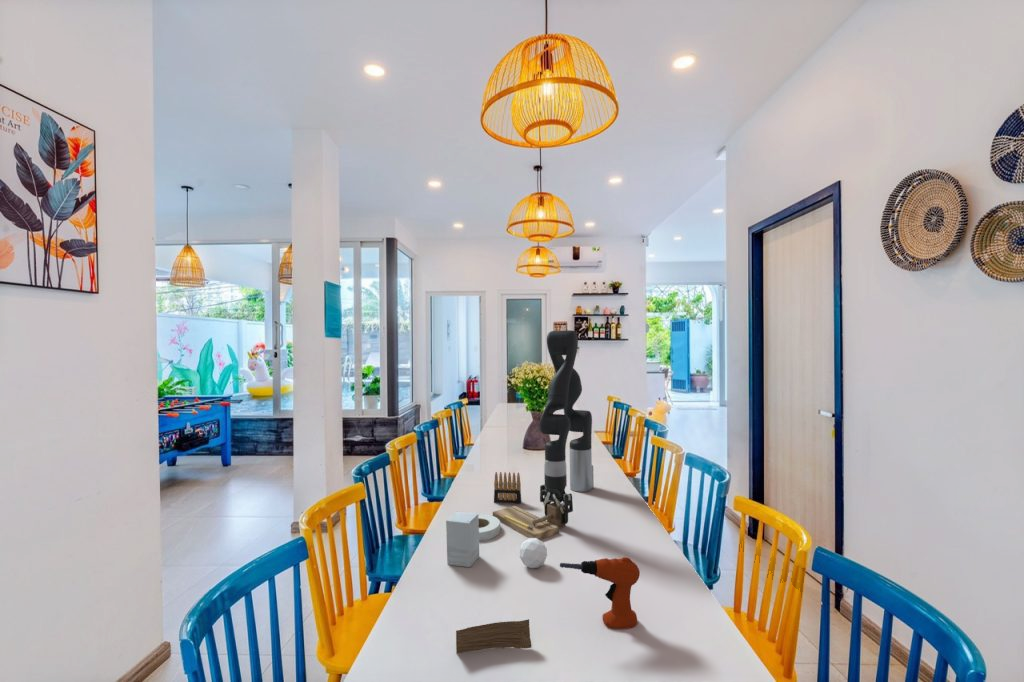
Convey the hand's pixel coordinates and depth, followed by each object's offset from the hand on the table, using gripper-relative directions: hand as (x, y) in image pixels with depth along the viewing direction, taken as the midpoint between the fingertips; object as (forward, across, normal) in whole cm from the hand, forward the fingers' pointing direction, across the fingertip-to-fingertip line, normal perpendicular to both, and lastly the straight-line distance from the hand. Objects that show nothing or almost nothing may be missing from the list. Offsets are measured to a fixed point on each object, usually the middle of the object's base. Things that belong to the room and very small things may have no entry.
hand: (556, 519), depth 155 cm
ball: (+2, -17, +24) cm, 29 cm away
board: (+2, +7, +8) cm, 11 cm away
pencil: (0, +6, +12) cm, 14 cm away
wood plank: (+2, -39, +51) cm, 64 cm away
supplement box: (+2, -2, +38) cm, 38 cm away
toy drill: (+2, -46, +28) cm, 54 cm away
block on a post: (+2, 0, +4) cm, 4 cm away
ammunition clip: (+2, +28, 0) cm, 28 cm away
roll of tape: (+3, +13, +24) cm, 27 cm away
